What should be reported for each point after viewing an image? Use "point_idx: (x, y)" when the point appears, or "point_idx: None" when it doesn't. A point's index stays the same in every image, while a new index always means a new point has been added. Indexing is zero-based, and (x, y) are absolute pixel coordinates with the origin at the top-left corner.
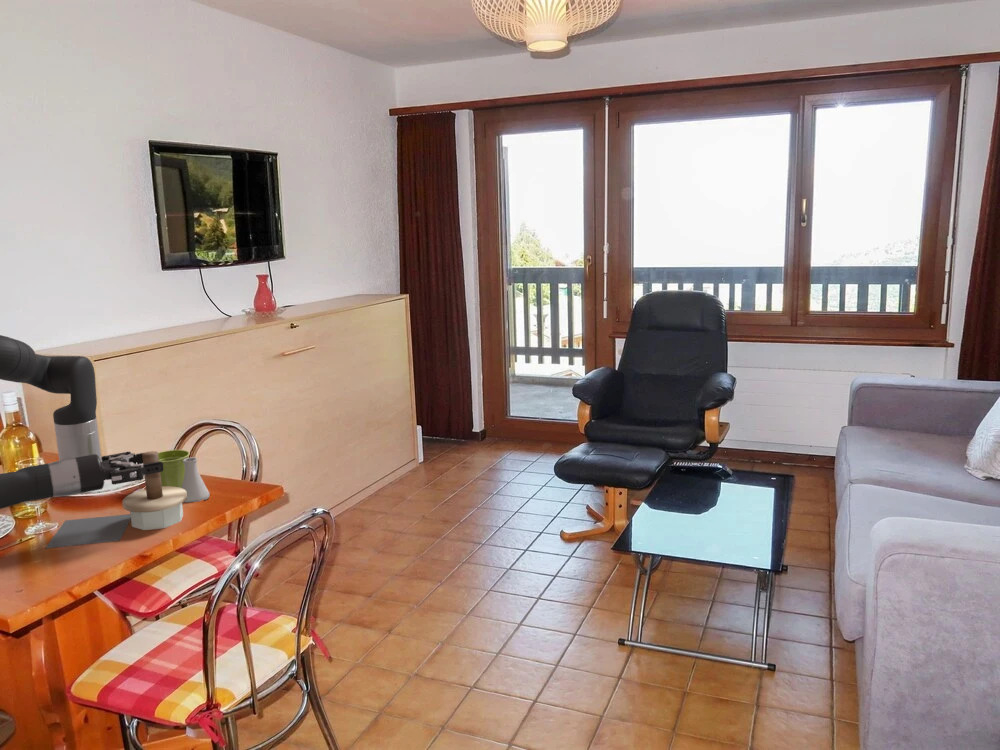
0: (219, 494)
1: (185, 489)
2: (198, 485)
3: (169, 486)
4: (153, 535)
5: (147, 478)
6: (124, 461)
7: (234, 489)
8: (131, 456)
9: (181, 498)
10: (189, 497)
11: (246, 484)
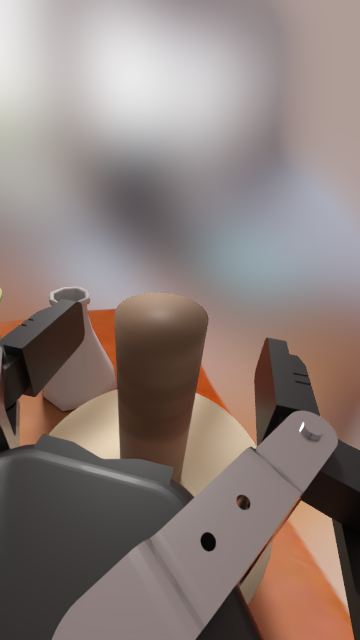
0: (110, 349)
1: (81, 374)
2: (102, 351)
3: (98, 396)
4: (256, 604)
5: (170, 443)
6: (73, 468)
7: (113, 329)
8: (3, 376)
9: (237, 422)
10: (98, 388)
11: (111, 314)
